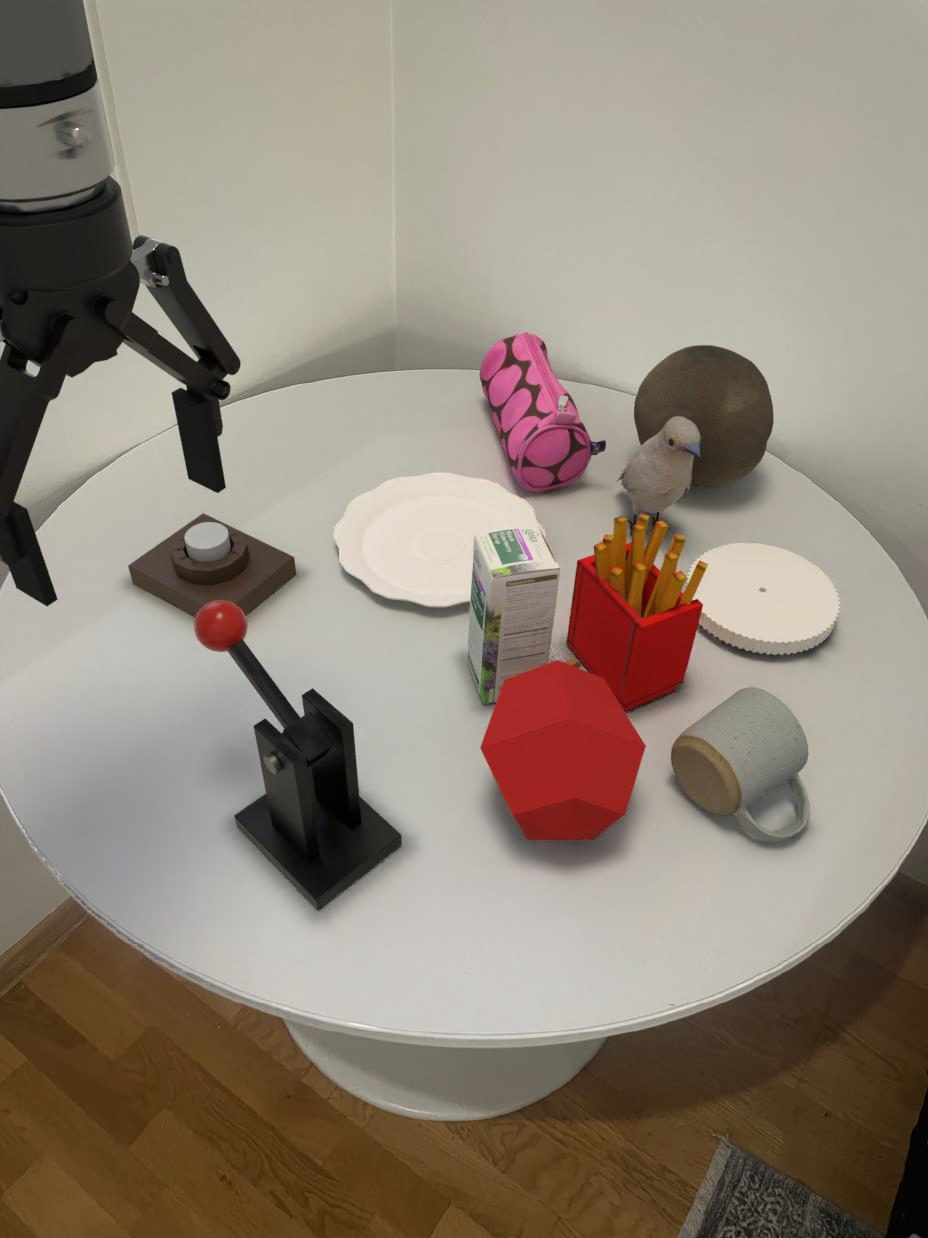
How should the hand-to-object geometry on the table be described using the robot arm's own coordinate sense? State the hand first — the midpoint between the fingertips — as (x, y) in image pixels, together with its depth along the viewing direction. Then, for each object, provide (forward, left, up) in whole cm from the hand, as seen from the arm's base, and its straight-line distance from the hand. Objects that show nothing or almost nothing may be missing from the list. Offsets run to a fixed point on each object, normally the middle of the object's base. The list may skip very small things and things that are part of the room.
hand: (127, 535), depth 62 cm
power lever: (+6, +3, -13) cm, 14 cm away
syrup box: (+15, +24, -25) cm, 37 cm away
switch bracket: (+12, +2, -25) cm, 27 cm away
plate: (0, +35, -25) cm, 43 cm away
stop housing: (-15, +19, -25) cm, 34 cm away
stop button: (-15, +19, -21) cm, 32 cm away
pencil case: (-2, +57, -25) cm, 62 cm away
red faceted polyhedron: (+25, +15, -25) cm, 38 cm away
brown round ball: (+16, +61, -25) cm, 67 cm away
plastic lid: (+30, +45, -25) cm, 59 cm away
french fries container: (+23, +31, -25) cm, 45 cm away
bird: (+16, +50, -25) cm, 57 cm away
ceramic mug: (+37, +24, -25) cm, 50 cm away
